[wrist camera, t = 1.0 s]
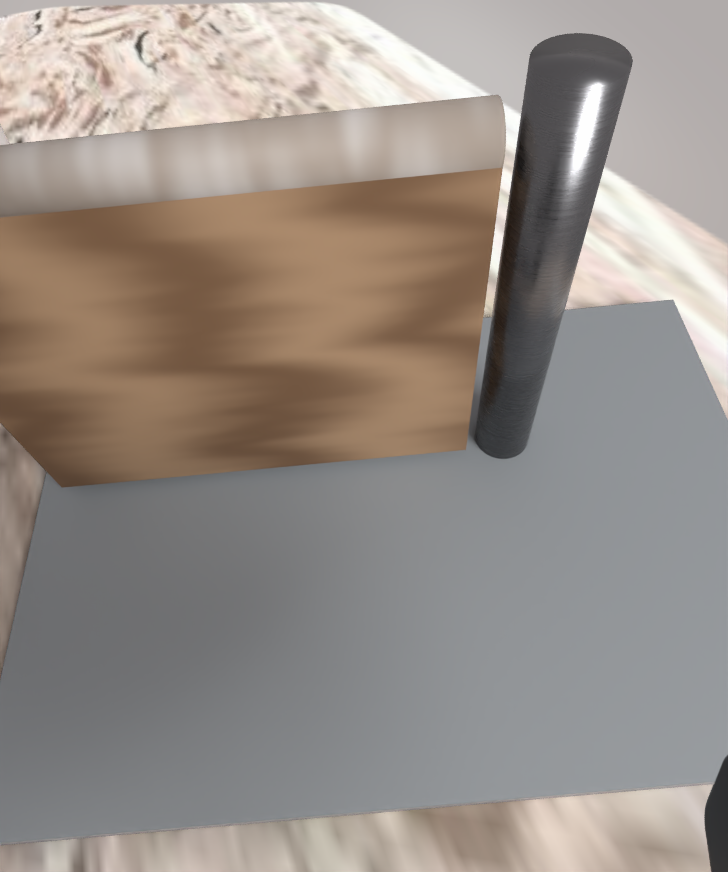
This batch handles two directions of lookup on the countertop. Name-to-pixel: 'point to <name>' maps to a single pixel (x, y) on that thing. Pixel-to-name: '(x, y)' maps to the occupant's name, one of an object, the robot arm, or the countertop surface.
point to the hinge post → (546, 223)
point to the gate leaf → (247, 290)
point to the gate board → (388, 617)
